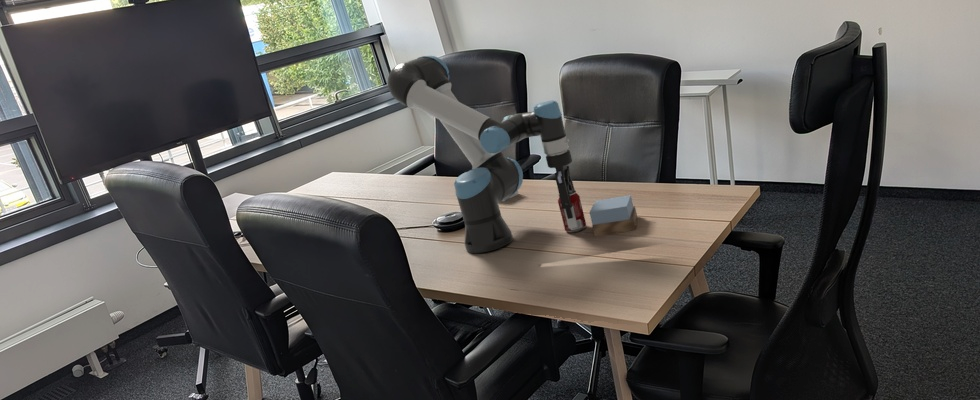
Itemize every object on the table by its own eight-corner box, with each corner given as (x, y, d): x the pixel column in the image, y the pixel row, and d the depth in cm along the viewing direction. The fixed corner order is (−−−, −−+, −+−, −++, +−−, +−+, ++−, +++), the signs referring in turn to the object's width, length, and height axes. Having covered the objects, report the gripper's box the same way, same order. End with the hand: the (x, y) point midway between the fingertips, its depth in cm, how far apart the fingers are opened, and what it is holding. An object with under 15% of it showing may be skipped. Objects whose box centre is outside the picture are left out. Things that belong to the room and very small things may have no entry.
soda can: (586, 231, 226) (577, 194, 224) (564, 235, 228) (555, 198, 225) (587, 224, 233) (579, 187, 230) (566, 228, 235) (557, 192, 232)
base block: (595, 238, 219) (592, 225, 219) (598, 225, 231) (596, 213, 230) (636, 231, 216) (633, 218, 215) (637, 218, 227) (635, 206, 226)
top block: (592, 225, 219) (589, 212, 218) (598, 213, 229) (595, 200, 228) (629, 219, 215) (626, 206, 214) (633, 207, 225) (630, 194, 224)
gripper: (565, 157, 214) (583, 232, 220) (573, 142, 233) (589, 211, 238) (540, 162, 217) (558, 236, 222) (550, 147, 235) (566, 215, 240)
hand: (574, 223), depth 230 cm, fingers closed on soda can, 7 cm apart
